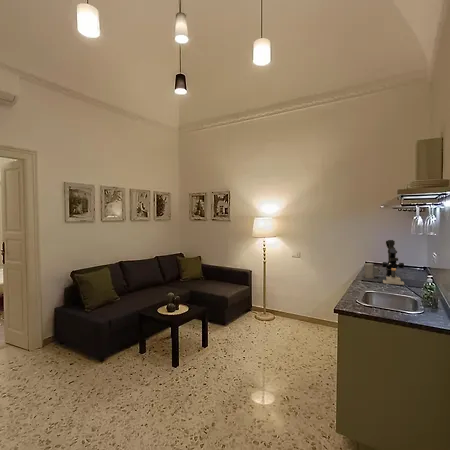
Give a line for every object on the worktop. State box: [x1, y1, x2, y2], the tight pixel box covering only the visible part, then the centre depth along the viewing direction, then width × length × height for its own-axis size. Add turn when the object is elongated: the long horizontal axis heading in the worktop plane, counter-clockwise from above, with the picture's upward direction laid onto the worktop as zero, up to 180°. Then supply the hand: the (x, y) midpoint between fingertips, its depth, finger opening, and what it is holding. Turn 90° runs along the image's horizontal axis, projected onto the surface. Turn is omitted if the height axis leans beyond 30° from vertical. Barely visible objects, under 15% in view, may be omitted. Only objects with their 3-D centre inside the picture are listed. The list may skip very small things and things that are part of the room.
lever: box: [391, 268, 397, 278], centre depth 286 cm, size 2×4×10 cm, turn 64°
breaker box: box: [382, 275, 405, 286], centre depth 289 cm, size 10×18×7 cm, turn 64°
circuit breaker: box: [363, 262, 381, 279], centre depth 313 cm, size 8×14×15 cm, turn 78°
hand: (393, 272), depth 287 cm, fingers closed, pressing on lever
